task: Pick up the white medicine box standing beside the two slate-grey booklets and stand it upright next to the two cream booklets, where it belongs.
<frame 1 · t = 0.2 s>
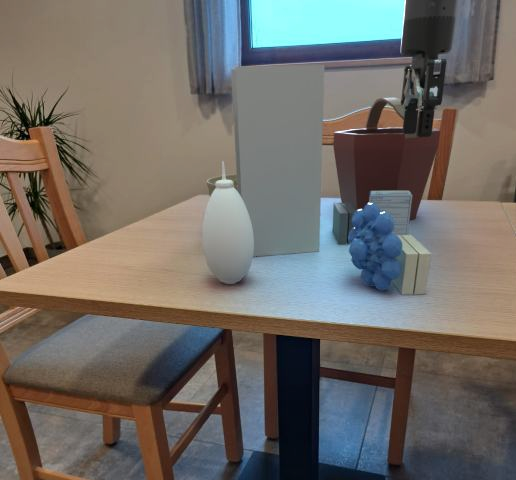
hand: (415, 135, 77), 19 cm above the table, tool pointing down, fingers open, 8 cm apart
grapes: (365, 287, 70), on the table
white air blower bulb: (230, 283, 73), on the table
medicine box: (386, 237, 94), on the table
grey booklets: (344, 237, 94), on the table
planter bowl: (246, 230, 103), on the table
cream booklets: (402, 282, 70), on the table
tall grey box: (279, 251, 88), on the table
bucket: (377, 216, 111), on the table
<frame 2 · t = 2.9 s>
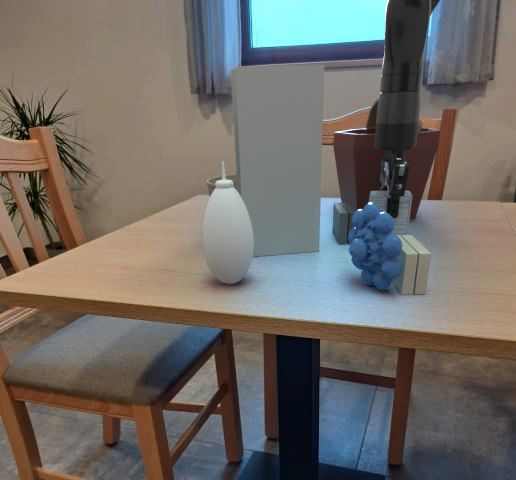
hand: (388, 214, 92), 4 cm above the table, tool pointing down, fingers closed on medicine box, 5 cm apart
medicine box: (386, 237, 94), on the table, touching gripper
everything else where it was.
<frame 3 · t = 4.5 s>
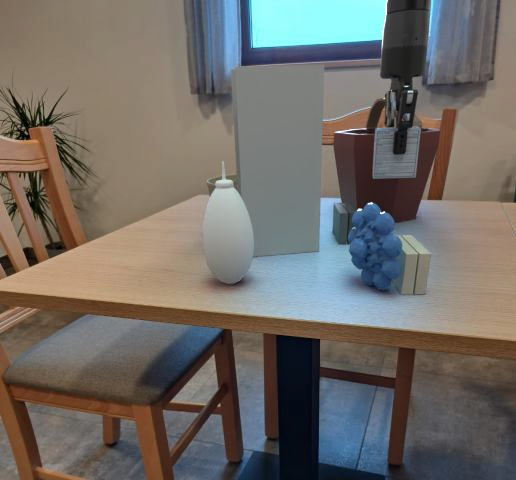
hand: (395, 152, 87), 16 cm above the table, tool pointing down, fingers closed on medicine box, 5 cm apart
medicine box: (393, 178, 89), point 11 cm above the table, touching gripper
everything else where it was.
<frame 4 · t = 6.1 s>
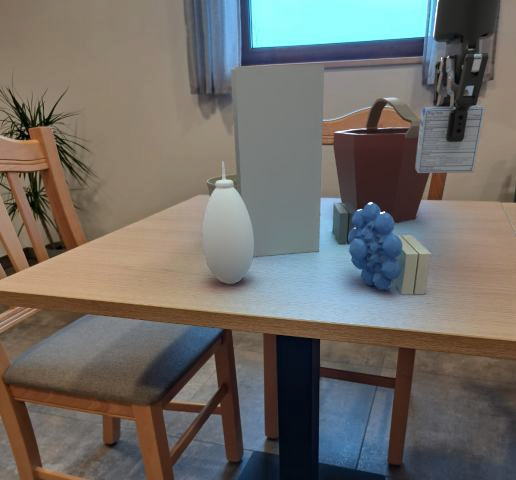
hand: (448, 139, 67), 19 cm above the table, tool pointing down, fingers closed on medicine box, 5 cm apart
medicine box: (442, 173, 69), point 15 cm above the table, touching gripper
everything else where it was.
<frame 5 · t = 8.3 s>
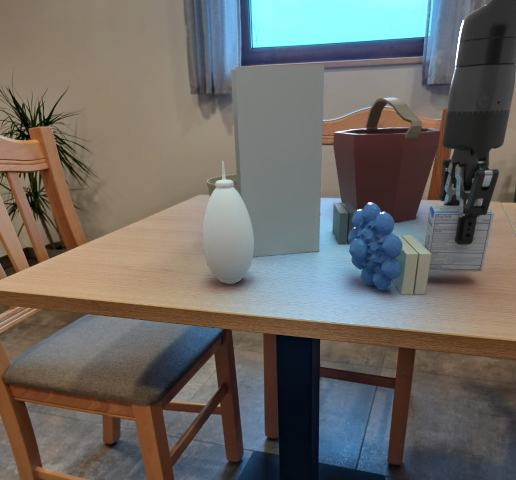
hand: (456, 238, 67), 7 cm above the table, tool pointing down, fingers closed on medicine box, 5 cm apart
medicine box: (450, 268, 69), point 2 cm above the table, touching gripper
everything else where it was.
when the fingers open (4 cm above the table, at t = 9.5 s): medicine box stays where it is, on the table.
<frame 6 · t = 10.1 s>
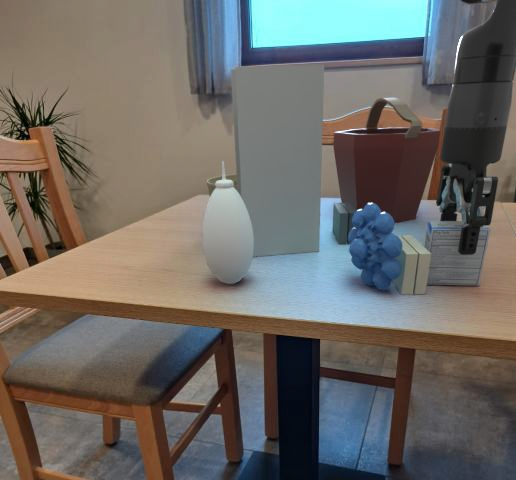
hand: (455, 245, 68), 6 cm above the table, tool pointing down, fingers open, 8 cm apart
medicine box: (448, 282, 70), on the table
everything else where it was.
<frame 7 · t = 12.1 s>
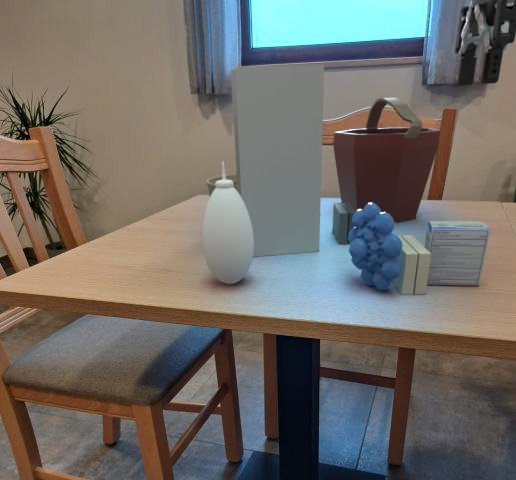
hand: (476, 84, 68), 26 cm above the table, tool pointing down, fingers open, 8 cm apart
nothing on the table moved.
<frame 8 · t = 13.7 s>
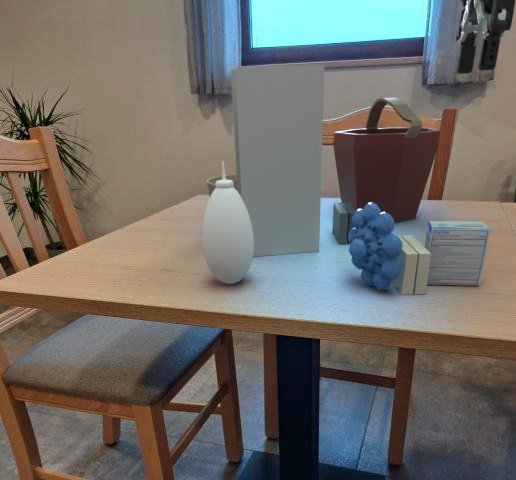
hand: (474, 71, 70), 28 cm above the table, tool pointing down, fingers open, 8 cm apart
nothing on the table moved.
at the end: medicine box 0.3 cm from the target spot on the table beside the cream booklets, on the table; medicine box tilted 0°; the gripper is holding nothing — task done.
